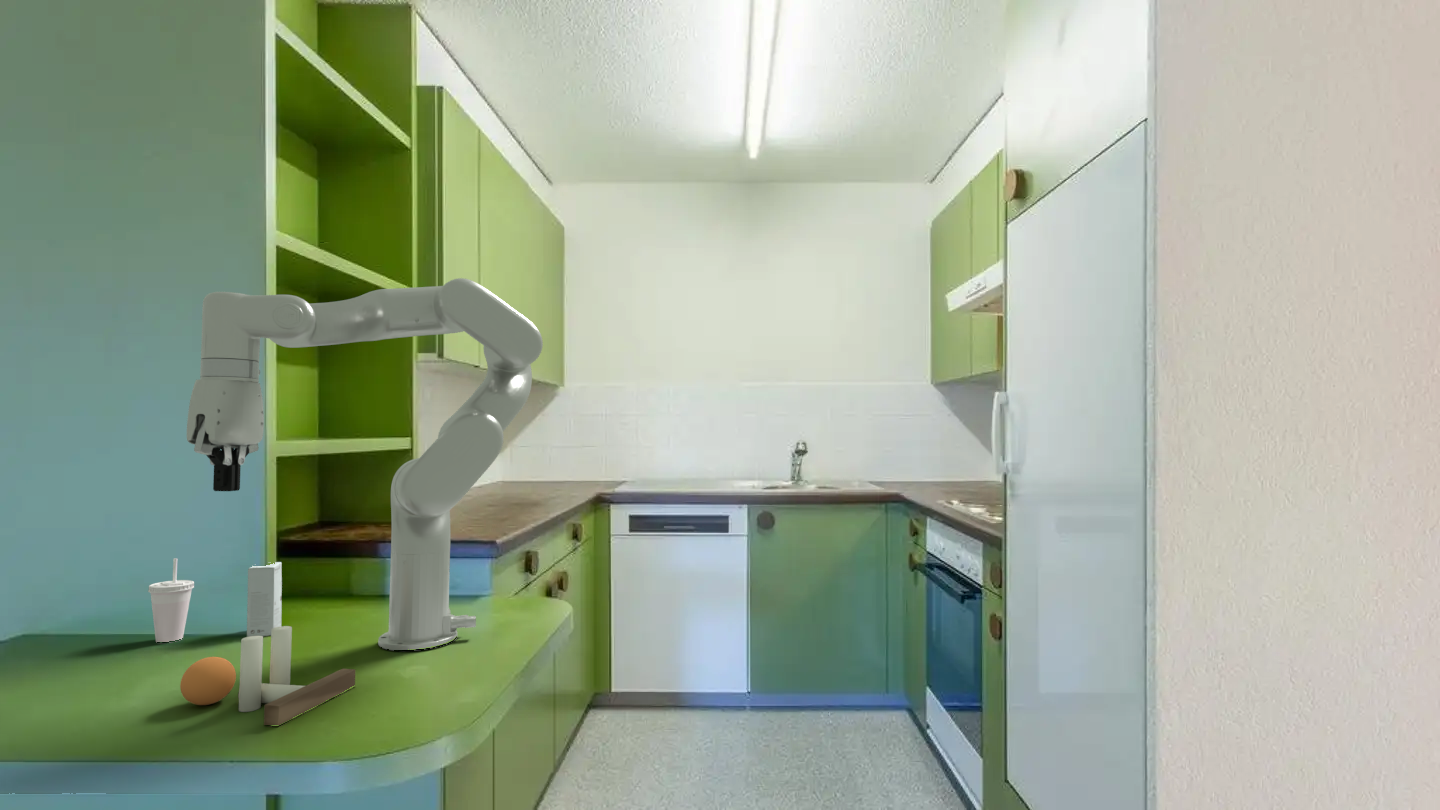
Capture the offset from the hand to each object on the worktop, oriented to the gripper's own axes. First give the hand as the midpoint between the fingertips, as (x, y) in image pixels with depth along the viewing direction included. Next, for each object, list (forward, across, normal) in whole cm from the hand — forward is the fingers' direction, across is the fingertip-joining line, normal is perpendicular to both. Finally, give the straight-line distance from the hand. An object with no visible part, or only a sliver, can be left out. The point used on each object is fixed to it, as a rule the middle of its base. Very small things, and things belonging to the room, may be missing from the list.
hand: (226, 490), depth 110 cm
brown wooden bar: (+27, +12, +25) cm, 38 cm away
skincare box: (+27, -18, -9) cm, 34 cm away
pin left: (+27, +14, +18) cm, 35 cm away
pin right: (+27, +9, +18) cm, 33 cm away
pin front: (+26, +12, +15) cm, 32 cm away
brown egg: (+24, +13, +11) cm, 30 cm away
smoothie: (+27, -11, -21) cm, 36 cm away
